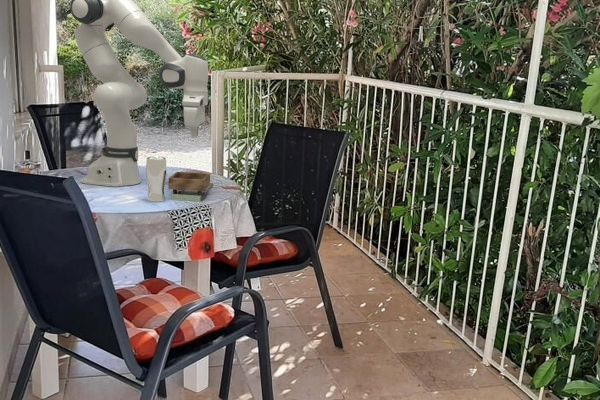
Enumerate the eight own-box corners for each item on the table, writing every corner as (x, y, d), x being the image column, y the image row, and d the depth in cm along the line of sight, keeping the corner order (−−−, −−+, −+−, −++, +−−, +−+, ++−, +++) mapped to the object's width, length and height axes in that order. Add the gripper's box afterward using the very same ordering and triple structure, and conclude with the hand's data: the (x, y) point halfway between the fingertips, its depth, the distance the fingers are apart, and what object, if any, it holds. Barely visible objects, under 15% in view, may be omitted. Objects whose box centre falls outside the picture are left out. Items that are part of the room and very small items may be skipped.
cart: (168, 195, 215) (168, 178, 214) (176, 187, 228) (176, 171, 226) (203, 197, 215) (203, 180, 214) (209, 189, 228) (210, 173, 226)
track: (170, 199, 215) (170, 194, 214) (186, 183, 241) (186, 179, 241) (200, 201, 215) (200, 195, 214) (213, 185, 241) (213, 180, 241)
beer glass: (170, 200, 213) (170, 158, 210) (152, 203, 208) (152, 160, 205) (159, 196, 218) (159, 155, 215) (142, 199, 213) (142, 157, 210)
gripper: (192, 97, 232) (191, 133, 235) (181, 101, 212) (180, 140, 215) (209, 98, 232) (208, 134, 235) (198, 102, 212) (197, 141, 215)
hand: (194, 137), depth 225 cm, fingers closed
